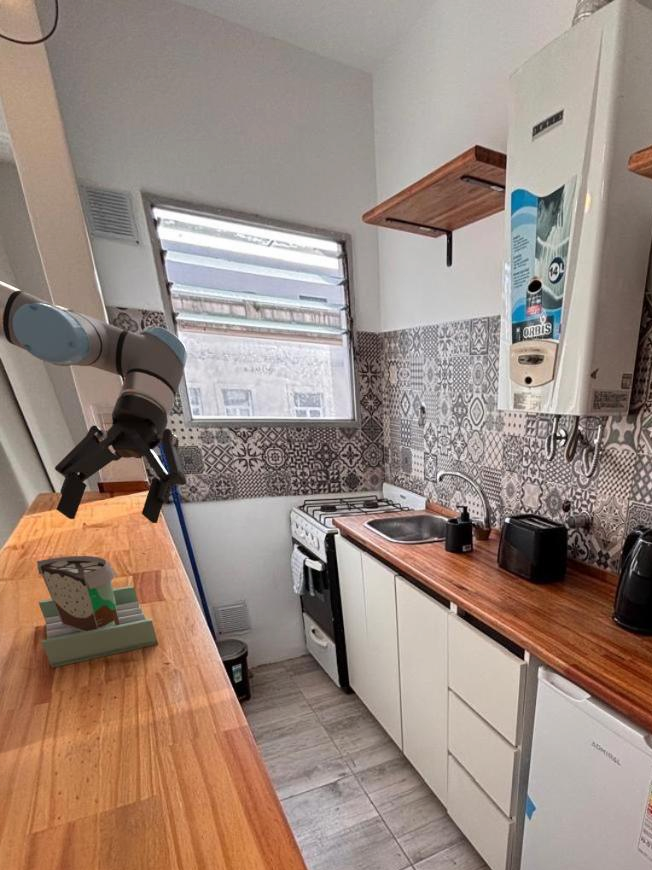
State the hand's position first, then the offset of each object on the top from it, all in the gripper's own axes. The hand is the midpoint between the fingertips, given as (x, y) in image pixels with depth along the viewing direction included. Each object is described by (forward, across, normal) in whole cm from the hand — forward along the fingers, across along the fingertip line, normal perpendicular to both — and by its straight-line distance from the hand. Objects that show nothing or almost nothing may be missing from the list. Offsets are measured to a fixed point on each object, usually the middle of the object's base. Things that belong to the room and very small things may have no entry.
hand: (107, 516), depth 81 cm
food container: (+17, -1, -4) cm, 17 cm away
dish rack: (+18, 0, -6) cm, 19 cm away
